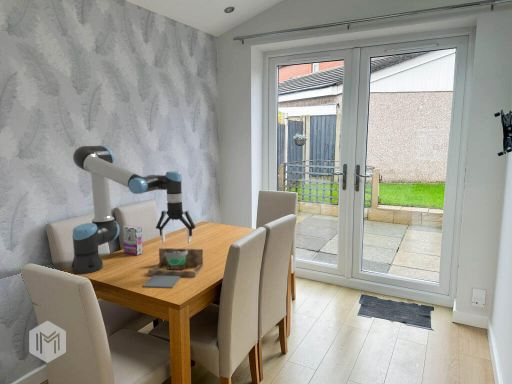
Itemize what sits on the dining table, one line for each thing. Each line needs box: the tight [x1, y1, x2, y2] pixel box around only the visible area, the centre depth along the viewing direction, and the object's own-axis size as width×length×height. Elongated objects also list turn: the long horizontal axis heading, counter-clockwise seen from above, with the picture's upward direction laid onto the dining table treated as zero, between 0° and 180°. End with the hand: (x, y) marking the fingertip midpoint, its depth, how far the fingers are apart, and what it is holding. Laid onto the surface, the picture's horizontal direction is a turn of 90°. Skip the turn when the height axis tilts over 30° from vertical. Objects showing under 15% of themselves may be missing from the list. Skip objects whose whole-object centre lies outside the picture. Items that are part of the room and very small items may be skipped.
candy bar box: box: [122, 225, 144, 256], centre depth 215 cm, size 11×5×16 cm, turn 62°
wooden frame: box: [147, 247, 204, 278], centre depth 187 cm, size 24×18×9 cm
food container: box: [164, 250, 188, 271], centre depth 187 cm, size 12×6×10 cm, turn 105°
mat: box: [142, 275, 182, 289], centre depth 172 cm, size 14×14×1 cm
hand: (176, 242), depth 185 cm, fingers open, 13 cm apart
